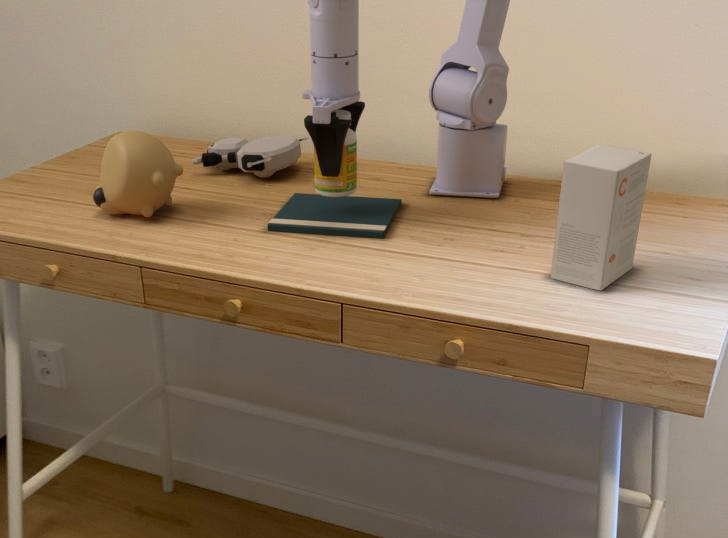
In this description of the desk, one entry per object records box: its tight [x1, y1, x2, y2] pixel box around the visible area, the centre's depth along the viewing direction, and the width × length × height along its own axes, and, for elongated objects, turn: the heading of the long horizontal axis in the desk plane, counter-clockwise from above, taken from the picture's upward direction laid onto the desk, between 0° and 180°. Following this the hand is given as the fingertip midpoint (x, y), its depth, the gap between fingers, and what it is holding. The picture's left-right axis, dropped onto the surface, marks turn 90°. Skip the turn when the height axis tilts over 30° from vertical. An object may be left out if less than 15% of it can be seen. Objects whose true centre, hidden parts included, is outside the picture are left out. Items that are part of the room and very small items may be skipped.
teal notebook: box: [267, 192, 403, 239], centre depth 121 cm, size 15×13×1 cm
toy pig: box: [92, 130, 184, 218], centre depth 122 cm, size 10×12×11 cm
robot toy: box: [191, 135, 310, 179], centre depth 138 cm, size 12×4×15 cm
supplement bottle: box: [313, 110, 358, 197], centre depth 116 cm, size 5×5×10 cm
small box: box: [550, 143, 653, 291], centre depth 100 cm, size 8×6×13 cm
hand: (336, 168), depth 118 cm, fingers closed on supplement bottle, 5 cm apart
